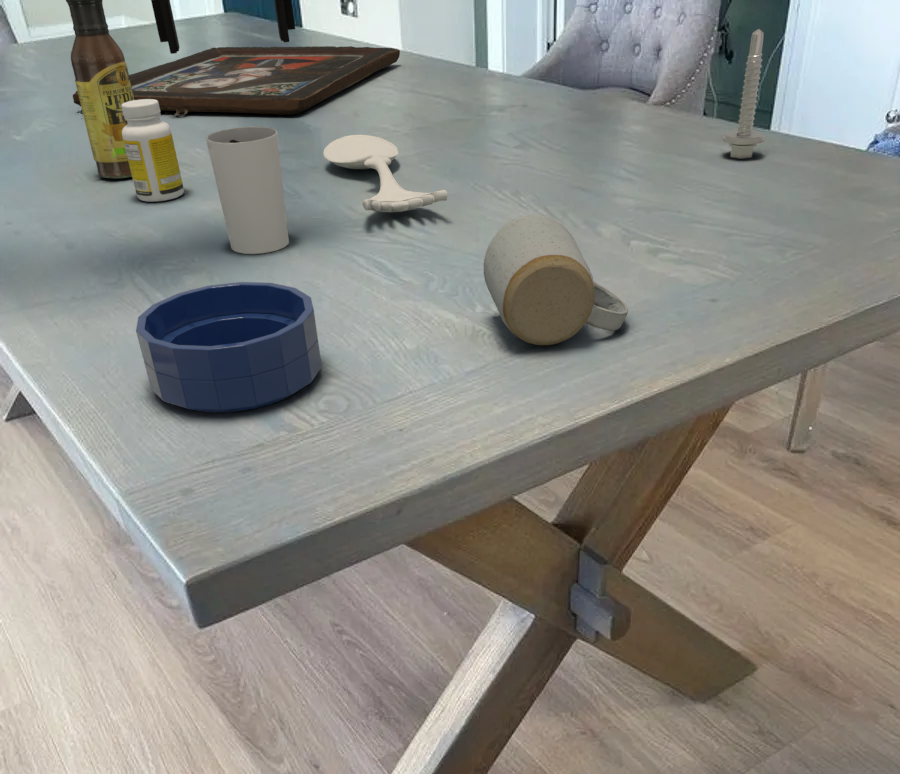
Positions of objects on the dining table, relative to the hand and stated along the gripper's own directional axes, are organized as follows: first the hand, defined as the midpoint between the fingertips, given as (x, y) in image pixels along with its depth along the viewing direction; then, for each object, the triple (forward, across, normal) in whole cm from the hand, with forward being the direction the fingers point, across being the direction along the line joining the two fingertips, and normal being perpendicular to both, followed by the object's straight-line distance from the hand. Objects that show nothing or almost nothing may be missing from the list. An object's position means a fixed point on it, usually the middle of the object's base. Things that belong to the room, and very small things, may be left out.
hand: (230, 45), depth 82 cm
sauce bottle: (+17, +16, -34) cm, 41 cm away
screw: (+18, -57, -13) cm, 61 cm away
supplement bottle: (+17, +11, -22) cm, 30 cm away
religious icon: (+18, -1, -86) cm, 88 cm away
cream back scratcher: (+18, -14, -15) cm, 27 cm away
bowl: (+17, +3, +31) cm, 36 cm away
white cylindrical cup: (+17, +1, 0) cm, 17 cm away
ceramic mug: (+18, -21, +29) cm, 40 cm away
